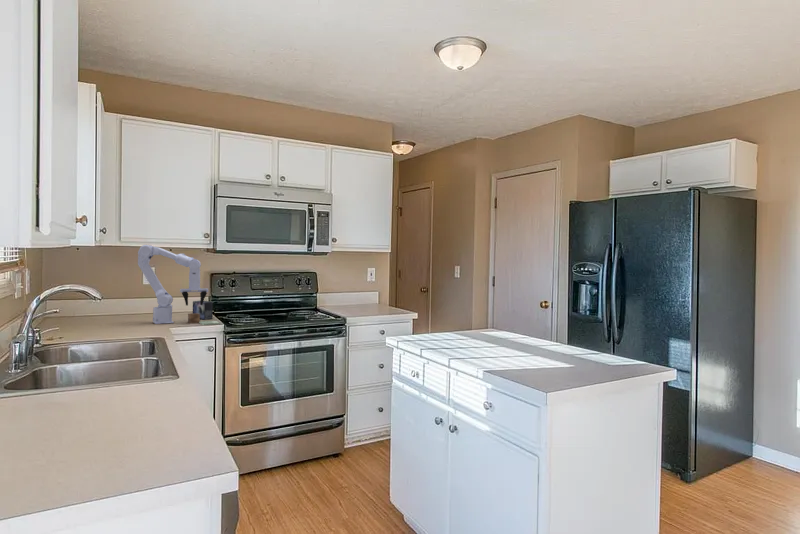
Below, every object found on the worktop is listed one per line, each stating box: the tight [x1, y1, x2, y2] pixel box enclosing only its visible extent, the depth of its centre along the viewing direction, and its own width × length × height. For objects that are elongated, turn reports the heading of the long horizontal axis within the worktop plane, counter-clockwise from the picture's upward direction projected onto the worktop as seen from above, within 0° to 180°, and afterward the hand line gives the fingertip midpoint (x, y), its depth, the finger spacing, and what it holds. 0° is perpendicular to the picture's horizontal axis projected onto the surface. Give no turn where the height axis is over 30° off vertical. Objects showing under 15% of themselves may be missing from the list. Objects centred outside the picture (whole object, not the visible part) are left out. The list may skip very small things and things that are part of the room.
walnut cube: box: [187, 312, 201, 324], centre depth 272 cm, size 5×5×5 cm
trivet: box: [198, 320, 221, 326], centre depth 270 cm, size 9×9×1 cm
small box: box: [192, 300, 214, 321], centre depth 289 cm, size 11×6×10 cm, turn 62°
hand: (194, 305), depth 272 cm, fingers open, 7 cm apart
